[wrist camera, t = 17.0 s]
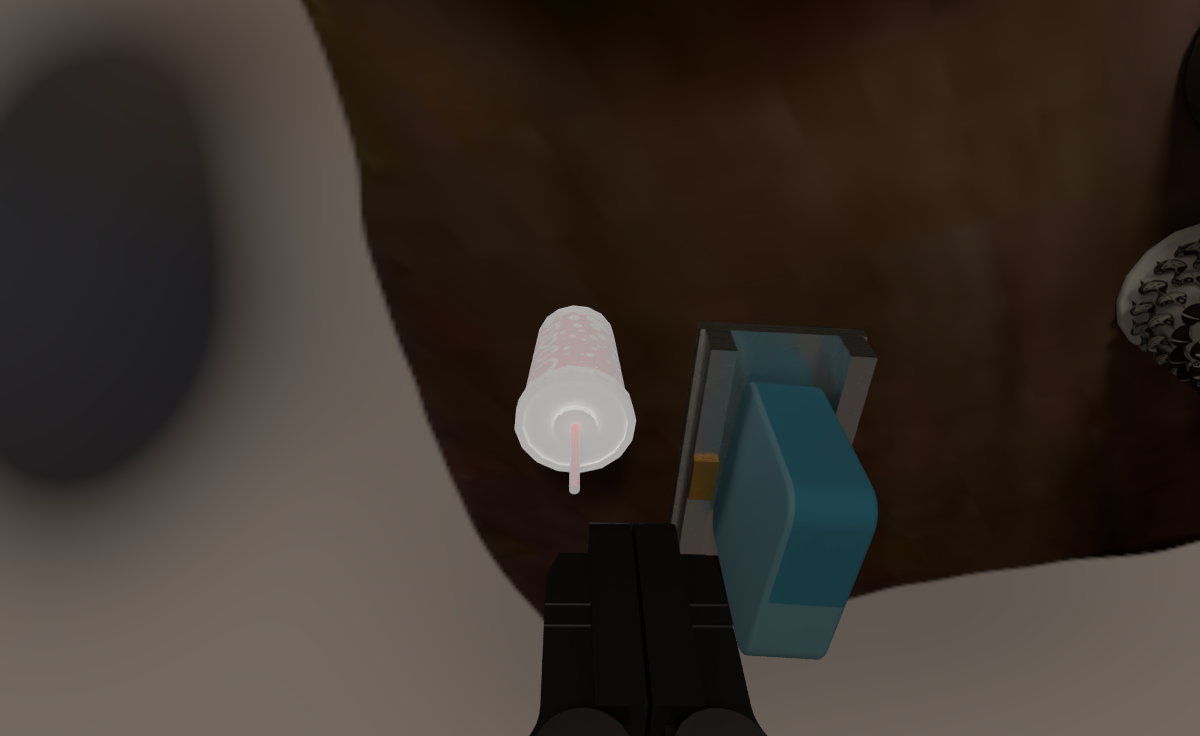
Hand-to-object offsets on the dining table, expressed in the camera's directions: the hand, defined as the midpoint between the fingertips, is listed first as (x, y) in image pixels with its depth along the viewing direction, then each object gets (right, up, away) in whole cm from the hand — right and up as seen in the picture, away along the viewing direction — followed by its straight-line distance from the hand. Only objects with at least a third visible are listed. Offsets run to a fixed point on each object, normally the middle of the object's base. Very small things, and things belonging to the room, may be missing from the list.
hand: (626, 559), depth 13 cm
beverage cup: (-2, +5, +33) cm, 33 cm away
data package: (+10, -2, +36) cm, 37 cm away
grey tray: (+10, -2, +37) cm, 38 cm away
